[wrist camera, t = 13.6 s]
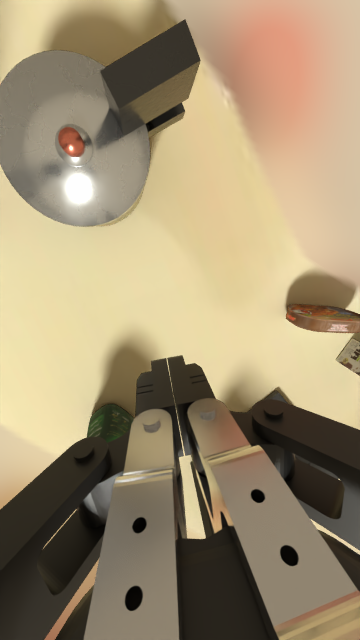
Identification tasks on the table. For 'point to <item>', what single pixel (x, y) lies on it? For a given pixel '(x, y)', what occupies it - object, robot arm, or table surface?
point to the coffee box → (351, 356)
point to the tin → (323, 318)
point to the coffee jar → (109, 423)
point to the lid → (89, 125)
